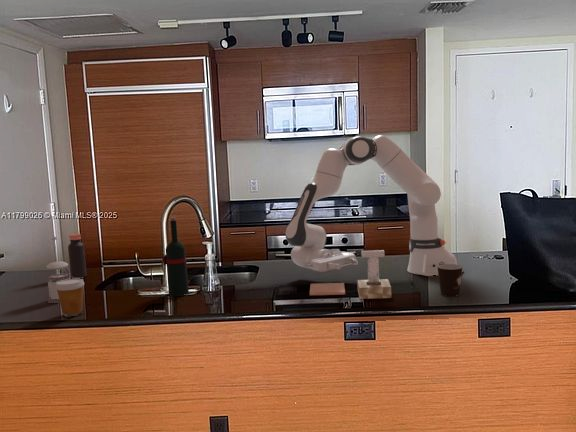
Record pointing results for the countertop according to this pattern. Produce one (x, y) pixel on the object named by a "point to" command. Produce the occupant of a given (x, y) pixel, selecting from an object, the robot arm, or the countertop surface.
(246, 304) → the countertop surface
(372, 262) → the t key
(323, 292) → the tile
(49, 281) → the french press
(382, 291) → the socket block
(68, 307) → the glass of amber beer
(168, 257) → the wine bottle
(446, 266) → the coffee mug
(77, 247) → the vinegar
